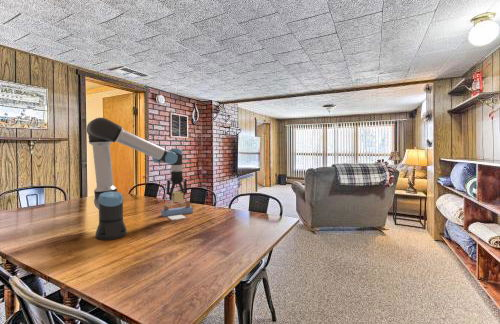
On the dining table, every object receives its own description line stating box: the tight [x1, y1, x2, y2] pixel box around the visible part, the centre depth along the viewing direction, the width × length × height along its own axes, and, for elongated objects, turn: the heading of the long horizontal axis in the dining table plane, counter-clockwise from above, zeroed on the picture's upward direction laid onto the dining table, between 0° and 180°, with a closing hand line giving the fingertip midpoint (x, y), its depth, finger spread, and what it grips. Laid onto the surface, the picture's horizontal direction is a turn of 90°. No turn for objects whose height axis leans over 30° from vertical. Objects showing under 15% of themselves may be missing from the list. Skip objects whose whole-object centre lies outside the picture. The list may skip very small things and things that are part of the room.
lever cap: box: [172, 190, 185, 203], centre depth 176 cm, size 6×8×6 cm
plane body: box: [160, 200, 194, 218], centre depth 187 cm, size 5×22×9 cm, turn 126°
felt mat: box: [167, 214, 187, 221], centre depth 176 cm, size 9×10×1 cm
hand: (177, 203), depth 176 cm, fingers closed on lever cap, 6 cm apart
